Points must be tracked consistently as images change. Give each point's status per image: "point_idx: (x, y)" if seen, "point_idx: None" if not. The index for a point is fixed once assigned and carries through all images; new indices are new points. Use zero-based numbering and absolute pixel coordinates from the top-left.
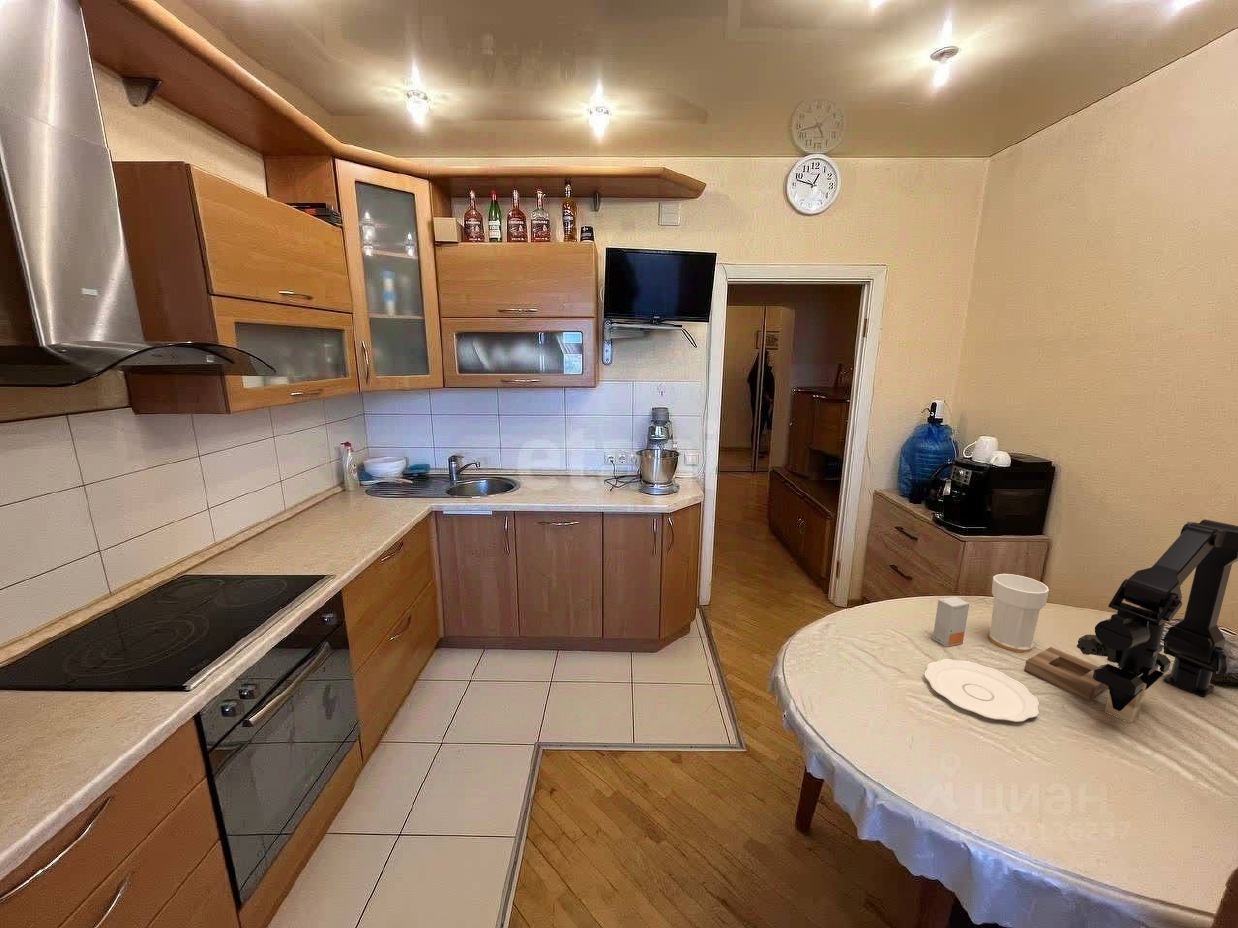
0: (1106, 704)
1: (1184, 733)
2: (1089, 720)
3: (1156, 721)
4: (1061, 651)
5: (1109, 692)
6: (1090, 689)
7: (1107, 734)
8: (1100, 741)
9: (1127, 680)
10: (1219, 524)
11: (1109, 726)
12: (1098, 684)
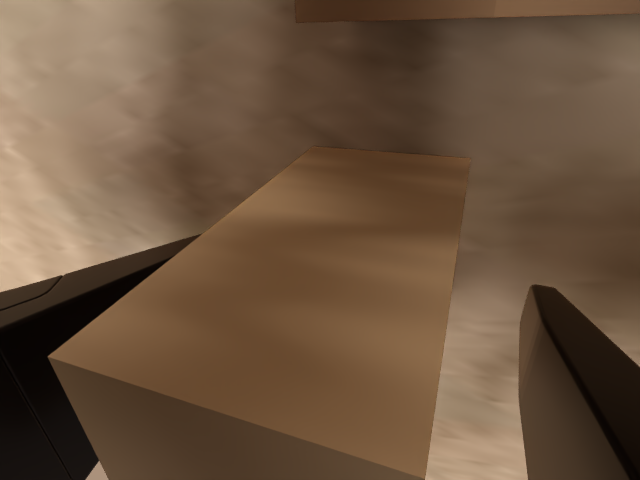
0: (287, 167)
1: (484, 445)
2: (127, 121)
3: (496, 362)
4: None
5: (213, 227)
6: (296, 13)
7: (113, 213)
8: (43, 205)
9: None
10: None
11: (182, 204)
12: (543, 12)
